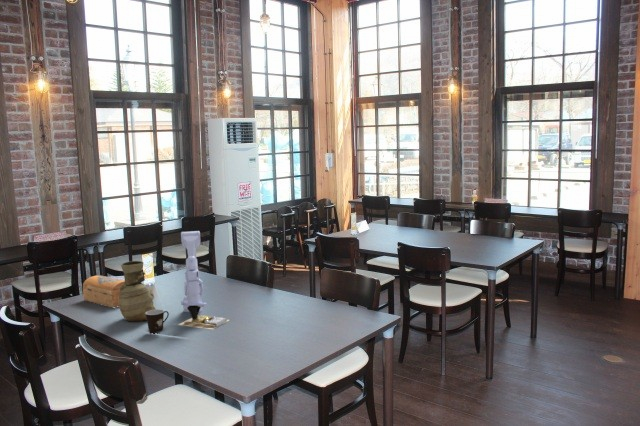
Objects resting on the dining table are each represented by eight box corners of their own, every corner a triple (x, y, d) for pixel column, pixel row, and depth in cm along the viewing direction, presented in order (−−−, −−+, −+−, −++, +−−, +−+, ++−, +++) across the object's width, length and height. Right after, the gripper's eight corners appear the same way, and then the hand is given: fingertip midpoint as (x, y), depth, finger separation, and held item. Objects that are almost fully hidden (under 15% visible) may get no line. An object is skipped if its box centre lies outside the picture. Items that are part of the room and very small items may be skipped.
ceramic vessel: (162, 311, 315) (158, 257, 311) (153, 323, 294) (148, 266, 290) (127, 312, 315) (123, 258, 311) (115, 325, 294) (110, 267, 290)
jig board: (177, 326, 288) (177, 322, 288) (195, 317, 302) (195, 313, 301) (213, 331, 280) (212, 327, 279) (229, 321, 293) (229, 317, 293)
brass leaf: (192, 323, 289) (191, 319, 288) (201, 319, 296) (201, 314, 296) (204, 325, 286) (204, 320, 285) (213, 320, 293) (213, 315, 293)
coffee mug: (148, 336, 276) (147, 315, 274) (145, 331, 283) (143, 311, 282) (173, 331, 281) (171, 311, 280) (169, 326, 289) (167, 307, 287)
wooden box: (138, 301, 335) (136, 278, 333) (112, 309, 322) (110, 285, 320) (108, 294, 353) (106, 272, 351) (83, 301, 340) (81, 278, 339)
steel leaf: (203, 325, 286) (203, 320, 285) (213, 320, 293) (212, 315, 293) (216, 327, 283) (216, 322, 282) (225, 322, 290) (225, 317, 290)
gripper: (176, 294, 290) (178, 320, 292) (200, 297, 284) (202, 323, 286) (185, 290, 296) (186, 316, 298) (208, 293, 291) (210, 319, 292)
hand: (195, 319), depth 293 cm, fingers closed
